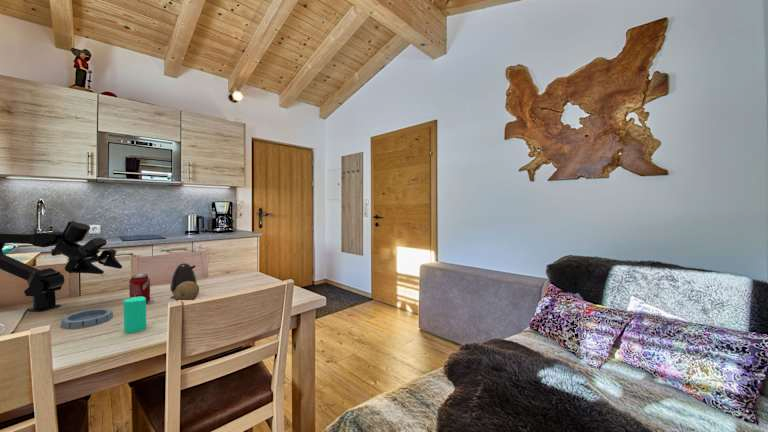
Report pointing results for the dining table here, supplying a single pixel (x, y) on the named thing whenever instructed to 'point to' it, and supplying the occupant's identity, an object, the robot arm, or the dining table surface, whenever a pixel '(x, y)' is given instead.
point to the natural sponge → (186, 291)
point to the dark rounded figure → (182, 275)
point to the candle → (134, 314)
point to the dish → (86, 318)
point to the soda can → (140, 286)
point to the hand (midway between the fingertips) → (112, 270)
